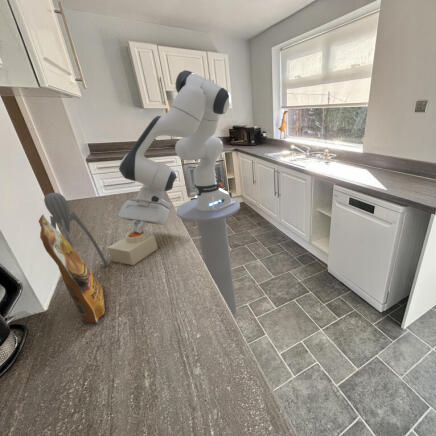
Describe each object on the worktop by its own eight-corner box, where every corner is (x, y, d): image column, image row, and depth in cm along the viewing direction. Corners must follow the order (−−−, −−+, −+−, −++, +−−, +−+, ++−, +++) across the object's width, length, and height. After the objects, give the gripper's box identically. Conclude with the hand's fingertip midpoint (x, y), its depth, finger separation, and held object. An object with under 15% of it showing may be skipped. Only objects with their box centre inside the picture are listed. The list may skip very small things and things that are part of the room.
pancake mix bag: (75, 335, 61) (24, 240, 49) (77, 293, 75) (38, 211, 63) (107, 322, 65) (67, 231, 53) (104, 284, 78) (71, 205, 67)
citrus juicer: (107, 265, 88) (77, 187, 76) (108, 279, 81) (75, 195, 68) (67, 276, 82) (27, 193, 69) (64, 293, 75) (19, 203, 62)
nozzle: (137, 234, 97) (135, 230, 96) (146, 236, 96) (144, 231, 95) (127, 240, 93) (126, 235, 92) (137, 241, 92) (135, 236, 91)
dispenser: (138, 244, 101) (133, 228, 98) (158, 248, 99) (153, 231, 95) (112, 261, 91) (105, 242, 87) (133, 265, 88) (127, 246, 85)
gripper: (122, 194, 97) (107, 226, 93) (164, 199, 92) (151, 233, 88) (134, 201, 103) (121, 231, 98) (174, 205, 98) (162, 237, 94)
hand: (135, 232), depth 93 cm, fingers closed, pressing on nozzle
